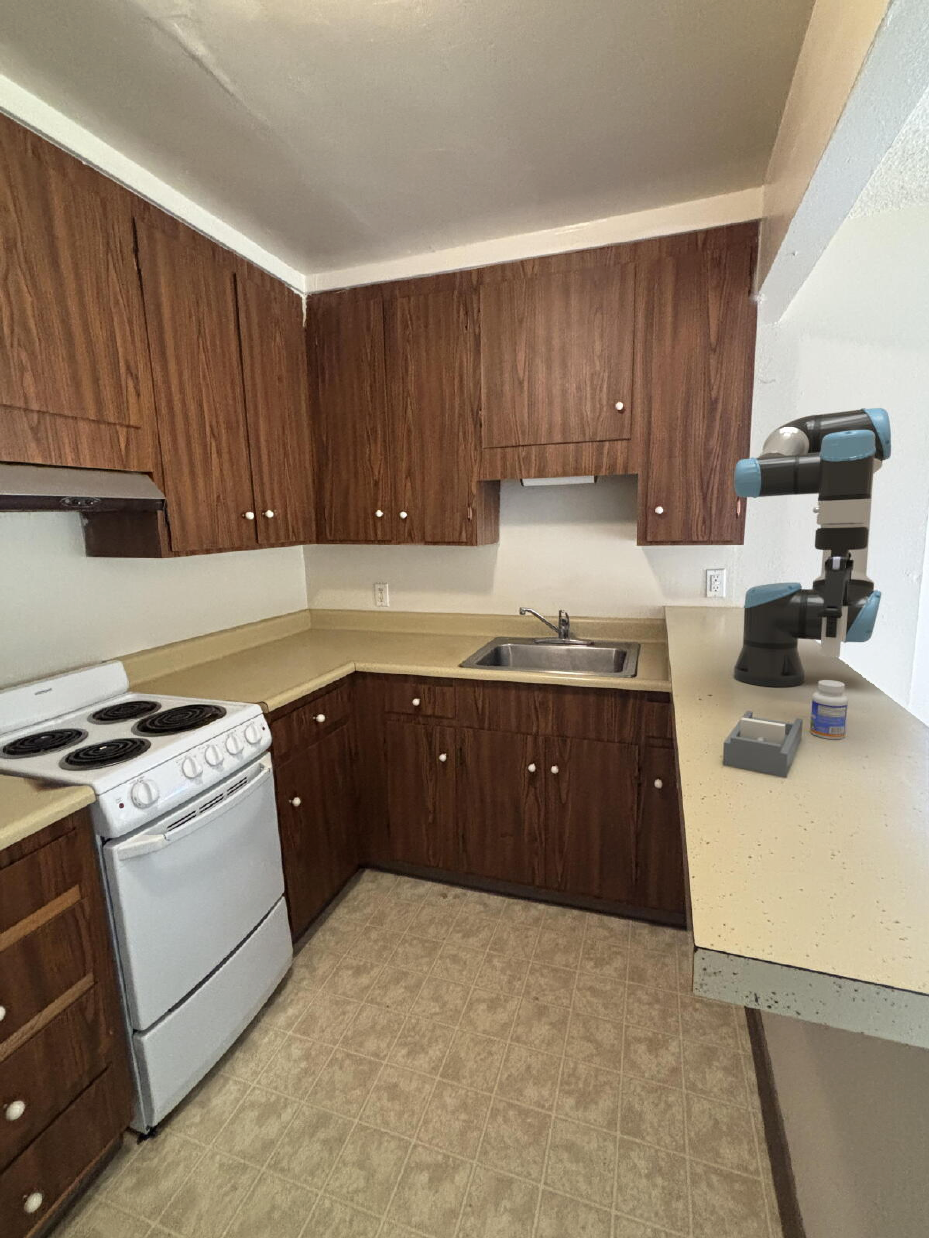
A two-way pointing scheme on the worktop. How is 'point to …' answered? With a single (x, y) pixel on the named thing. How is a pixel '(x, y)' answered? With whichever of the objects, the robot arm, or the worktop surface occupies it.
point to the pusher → (763, 731)
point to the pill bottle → (829, 710)
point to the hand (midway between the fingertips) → (833, 648)
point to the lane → (763, 749)
